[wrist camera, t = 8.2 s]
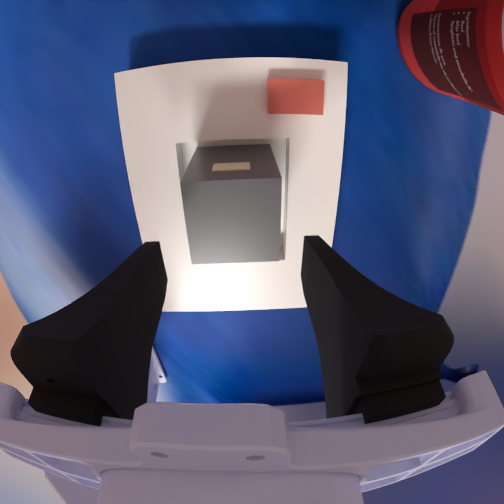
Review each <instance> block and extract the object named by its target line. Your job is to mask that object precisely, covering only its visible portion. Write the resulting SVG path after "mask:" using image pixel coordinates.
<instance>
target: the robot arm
mask: <svg viewBox="0 0 504 504" xmlns="http://www.w3.org/2000/svg"><path fill="white" fill-rule="evenodd" d="M301 281H302V288H303V293H304V298H305V301H306V305H307V308H308V311H309V315H310V318H311V322H312V325H313V328H314V332H315V335H316V339H317V343H318V348H319V355H320V361H321V368H322V375H323V383H324V392H325V402H326V413H327V419H320V420H312V421H302V422H292V423H287V418H286V416H285V414H284V412H283V411H282V410H280V409H278V408H275V407H272V406H270V405H267V404H252V403H240V404H198V403H172V402H156V398H157V391H158V385H159V383H165V382H167V378H166V375H165V373H164V371H163V368H162V366H161V364H160V361H159V359H158V356H157V354H156V351H155V349H154V346H153V342H154V338H155V335H156V331H157V327H158V323H159V320H160V316H161V313H162V309H163V305H164V302H165V296H166V290H167V282H168V278H167V274H166V269H165V265H164V261H163V256H162V251H161V247H160V242H159V241H150V242H145V243H144V244H142V245H141V246H140V247H139V248H138V249H137V250H136V251H135V252H134V253H133V254H132V255H131V256H130V257H128V258H127V259H126V260H125V261H124V262H123V263H122V264H121V265H120V266H119V267H118V268H117V269H116V270H114V271H113V272H112V273H111V274H110V275H109V276H108V277H106V278H105V279H104V280H103V281H102V282H101V283H99V284H98V285H97V286H96V287H94V288H93V289H91V290H90V291H89V292H87V293H86V294H85V295H83V296H82V297H80V298H78V299H77V300H75V301H74V302H72V303H71V304H69V305H67V306H66V307H64V308H62V309H60V310H58V311H57V312H55V313H53V314H51V315H49V316H47V317H44V318H42V319H40V320H37V321H35V322H33V323H30V324H28V325H25V326H23V328H22V330H21V332H20V334H19V335H18V337H17V339H16V341H15V343H14V345H13V347H12V349H11V357H12V360H13V362H14V364H15V365H16V367H17V368H18V370H19V371H20V372H21V373H22V374H23V375H24V377H25V378H26V379H27V380H28V381H29V382H30V384H31V385H32V386H33V390H32V393H31V395H30V398H29V399H25V398H24V396H23V395H22V394H21V393H20V392H19V391H18V390H17V389H16V388H14V387H12V386H10V385H7V384H4V383H1V382H0V449H1V450H3V451H4V452H6V453H7V454H9V455H10V456H12V457H14V458H16V459H18V460H21V461H23V462H25V463H27V464H30V465H32V466H34V467H37V468H39V469H42V470H43V471H44V472H45V478H46V479H47V481H48V482H49V483H50V485H51V486H52V487H53V488H54V489H55V491H56V492H57V493H58V494H59V495H60V497H61V498H62V499H63V500H64V501H65V502H66V504H363V498H362V492H365V491H369V490H372V489H376V488H379V487H382V486H385V485H389V484H392V483H395V482H398V481H400V480H403V479H406V478H409V477H412V476H414V475H417V474H419V473H422V472H424V471H427V470H429V469H432V468H434V467H437V466H439V465H441V464H444V463H446V462H448V461H450V460H453V459H455V458H457V457H460V456H462V455H464V454H466V453H468V452H470V451H472V450H474V449H476V448H477V447H478V446H480V445H481V444H482V443H484V442H485V441H486V440H488V439H489V438H490V437H491V436H493V435H494V434H495V433H496V432H498V431H499V430H500V429H501V428H502V427H504V409H503V407H502V404H501V402H500V400H499V397H498V395H497V393H496V391H495V389H494V387H493V385H492V383H491V381H490V379H489V377H488V375H487V373H486V371H481V372H479V373H476V374H473V375H470V376H467V377H465V378H463V379H461V380H460V381H459V382H458V383H457V384H456V385H455V386H454V388H453V389H452V391H449V392H446V393H444V390H443V388H442V385H441V383H440V381H439V379H441V378H442V373H441V371H440V369H439V367H440V366H441V364H442V363H443V361H444V360H445V358H446V357H447V355H448V354H449V352H450V350H451V348H452V346H453V343H454V336H453V333H452V331H451V329H450V328H449V326H448V324H447V322H446V321H445V319H444V317H443V316H442V315H440V314H437V313H434V312H431V311H428V310H426V309H423V308H420V307H418V306H416V305H413V304H411V303H409V302H407V301H405V300H403V299H401V298H399V297H397V296H395V295H393V294H391V293H390V292H388V291H386V290H384V289H383V288H381V287H380V286H378V285H377V284H375V283H374V282H372V281H371V280H369V279H368V278H366V277H365V276H364V275H362V274H361V273H360V272H359V271H357V270H356V269H355V268H354V267H352V266H351V265H350V264H349V263H348V262H346V261H345V260H344V259H343V258H342V257H341V256H340V255H339V254H338V253H337V252H336V251H335V250H333V249H332V248H331V247H330V246H329V245H328V244H327V243H326V242H325V241H324V240H323V239H322V238H321V237H320V236H319V235H311V236H304V243H303V254H302V265H301Z"/></svg>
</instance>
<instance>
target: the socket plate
mask: <svg viewBox="0 0 504 504" xmlns="http://www.w3.org/2000/svg"><path fill="white" fill-rule="evenodd" d="M347 73H348V62H339V61H330V60H318V59H304V58H278V57H249V58H223V59H208V60H197V61H187V62H178V63H170V64H163V65H157V66H150V67H144V68H139V69H133V70H128V71H123V72H118V73H114V75H115V86H116V96H117V105H118V113H119V121H120V128H121V135H122V142H123V148H124V155H125V161H126V166H127V172H128V178H129V183H130V188H131V193H132V198H133V203H134V208H135V213H136V217H137V222H138V226H139V231H140V235H141V239H142V243H143V244H144V243H145V242H150V241H159V242H160V247H161V251H162V256H163V261H164V265H165V269H166V274H167V278H168V282H167V290H166V296H165V302H164V305H163V309H162V311H164V312H172V311H234V310H262V309H283V308H301V307H307V305H306V301H305V298H304V293H303V288H302V281H301V265H302V254H303V243H304V236H311V235H319V236H320V237H321V238H322V239H323V240H324V241H325V242H326V243H327V244H328V245H329V246H330V247H331V248H332V242H333V235H334V227H335V220H336V212H337V204H338V195H339V186H340V177H341V166H342V156H343V144H344V131H345V116H346V98H347ZM251 144H270V146H271V149H272V152H273V154H274V157H275V160H276V163H277V166H278V168H279V171H280V174H281V177H282V195H281V232H280V261H269V262H243V263H216V264H192V261H191V255H190V249H189V243H188V236H187V230H186V223H185V216H184V209H183V202H182V195H181V187H180V181H181V179H182V177H183V175H184V173H185V171H186V169H187V167H188V165H189V163H190V160H191V158H192V156H193V154H194V152H195V150H196V148H197V147H209V146H226V145H251Z"/></svg>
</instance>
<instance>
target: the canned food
mask: <svg viewBox="0 0 504 504" xmlns="http://www.w3.org/2000/svg"><path fill="white" fill-rule="evenodd" d="M397 40H398V46H399V50H400V53H401V56H402V58H403V60H404V62H405V64H406V66H407V67H408V69H409V70H410V71H411V73H412V74H413V75H414V76H415V77H416V78H417V79H418V80H419V81H421V82H422V83H423V84H424V85H425V86H427V87H428V88H430V89H432V90H434V91H435V92H439V93H442V94H445V95H448V96H452V97H455V98H458V99H461V100H464V101H467V102H470V103H473V104H476V105H479V106H481V107H484V108H487V109H489V110H492V111H494V112H497V113H499V114H502V115H504V0H413V1H412V2H411V3H410V4H409V5H408V6H407V7H406V8H405V9H404V11H403V12H402V14H401V16H400V19H399V22H398V27H397Z"/></svg>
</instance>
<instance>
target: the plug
mask: <svg viewBox="0 0 504 504" xmlns="http://www.w3.org/2000/svg"><path fill="white" fill-rule="evenodd" d="M180 187H181V195H182V202H183V209H184V216H185V223H186V230H187V236H188V243H189V249H190V255H191V261H192V264H216V263H243V262H269V261H280V232H281V195H282V177H281V174H280V171H279V168H278V166H277V163H276V160H275V157H274V154H273V152H272V149H271V146H270V144H251V145H226V146H209V147H197V148H196V150H195V152H194V154H193V156H192V158H191V160H190V163H189V165H188V167H187V169H186V171H185V173H184V175H183V177H182V179H181V181H180Z"/></svg>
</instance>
